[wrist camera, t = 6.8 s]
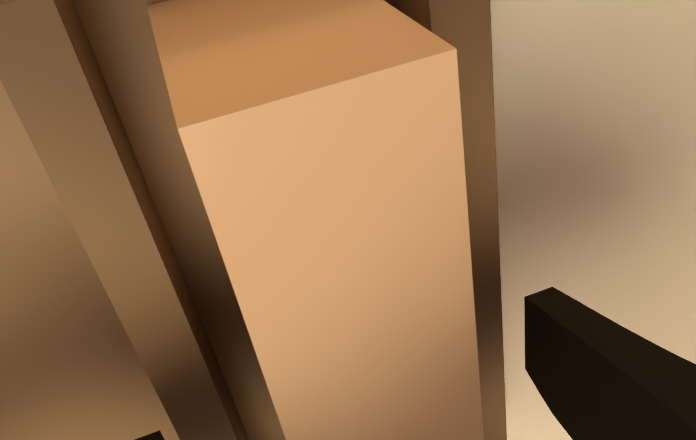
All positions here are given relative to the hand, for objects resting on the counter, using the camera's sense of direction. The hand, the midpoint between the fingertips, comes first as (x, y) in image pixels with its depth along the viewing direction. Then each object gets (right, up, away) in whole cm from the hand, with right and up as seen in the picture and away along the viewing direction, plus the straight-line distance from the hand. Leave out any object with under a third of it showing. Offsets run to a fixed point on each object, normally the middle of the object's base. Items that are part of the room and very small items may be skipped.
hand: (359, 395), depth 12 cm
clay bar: (-1, +2, +2) cm, 3 cm away
